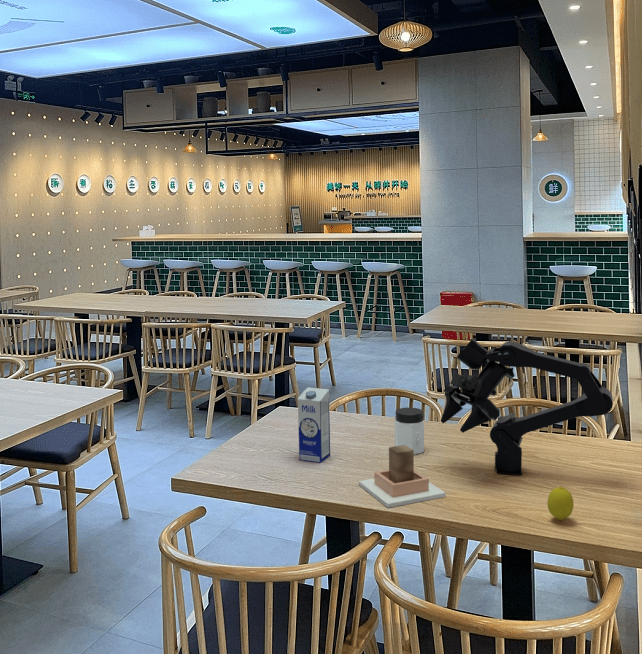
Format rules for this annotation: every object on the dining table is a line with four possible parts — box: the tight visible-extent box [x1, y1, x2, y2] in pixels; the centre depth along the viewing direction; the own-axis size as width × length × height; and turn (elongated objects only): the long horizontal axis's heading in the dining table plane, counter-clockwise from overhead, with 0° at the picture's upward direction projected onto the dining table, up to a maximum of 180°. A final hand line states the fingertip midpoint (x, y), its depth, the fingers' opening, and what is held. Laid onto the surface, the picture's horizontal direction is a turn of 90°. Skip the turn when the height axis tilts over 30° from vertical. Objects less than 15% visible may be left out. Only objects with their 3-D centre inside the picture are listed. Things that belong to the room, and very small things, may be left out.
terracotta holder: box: [358, 469, 447, 509], centre depth 178 cm, size 16×16×4 cm
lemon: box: [547, 486, 574, 521], centre depth 159 cm, size 6×6×8 cm
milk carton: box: [297, 387, 331, 464], centre depth 202 cm, size 7×7×20 cm
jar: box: [394, 407, 425, 456], centre depth 207 cm, size 9×8×12 cm
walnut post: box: [388, 445, 415, 483], centre depth 177 cm, size 4×4×10 cm
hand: (451, 426), depth 185 cm, fingers open, 9 cm apart
